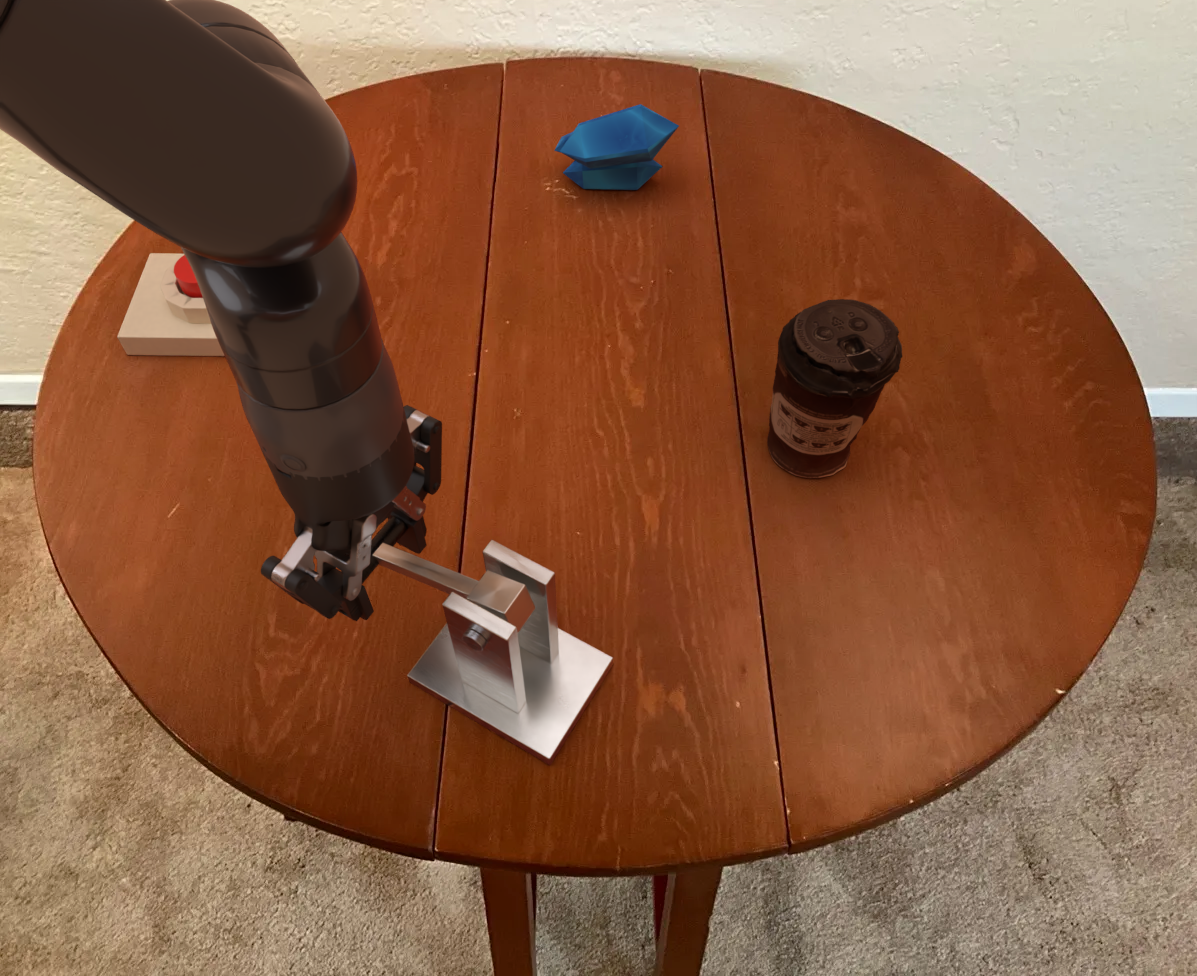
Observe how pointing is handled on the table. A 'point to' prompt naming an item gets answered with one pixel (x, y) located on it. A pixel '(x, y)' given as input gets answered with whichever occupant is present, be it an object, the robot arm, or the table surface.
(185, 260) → the button
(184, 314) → the button box
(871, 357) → the coffee cup
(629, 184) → the crystal
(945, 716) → the table surface
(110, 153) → the robot arm
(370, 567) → the lever
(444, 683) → the bracket
